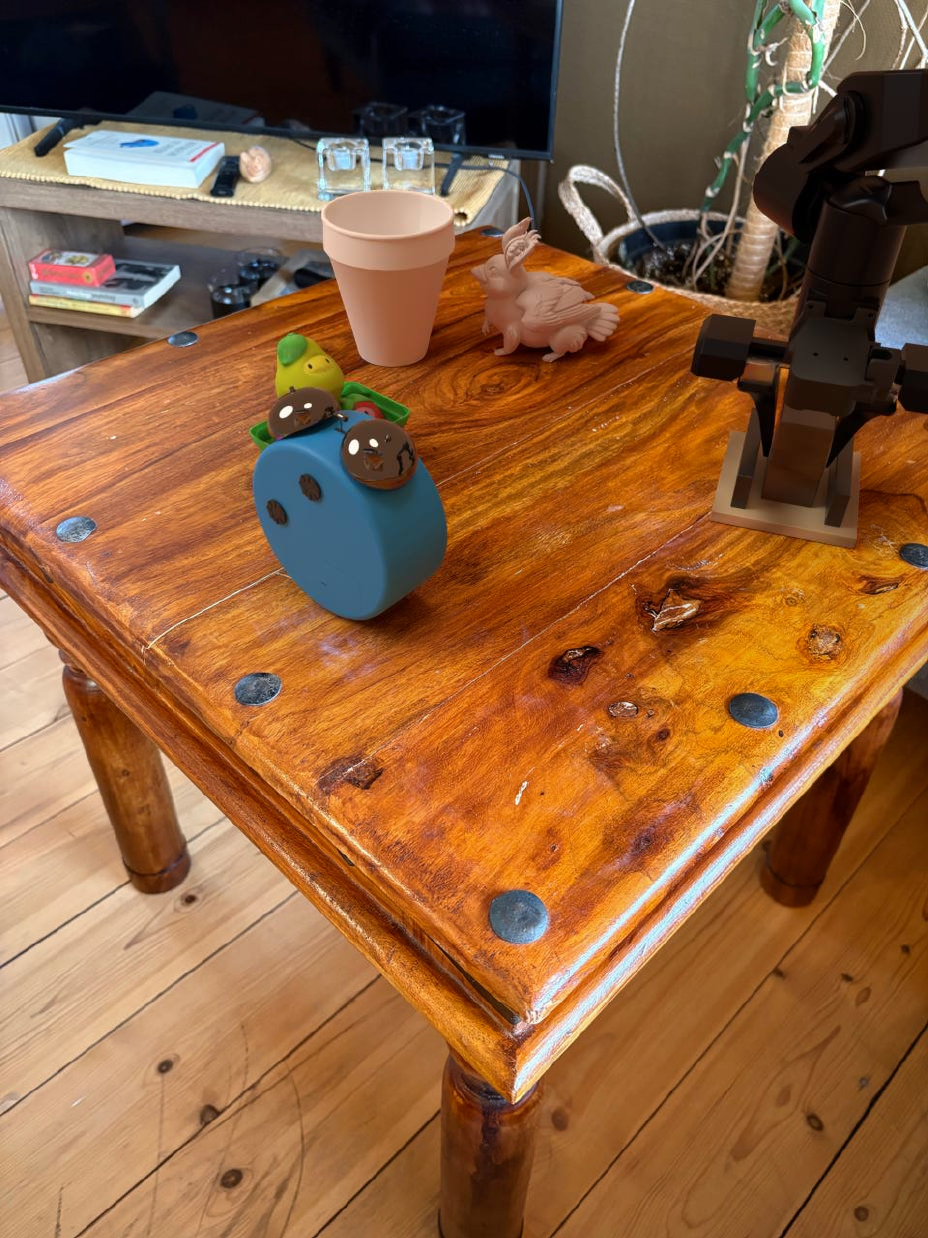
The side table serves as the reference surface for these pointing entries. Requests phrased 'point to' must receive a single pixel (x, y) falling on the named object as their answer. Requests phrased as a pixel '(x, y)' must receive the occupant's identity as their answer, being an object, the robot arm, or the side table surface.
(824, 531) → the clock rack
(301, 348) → the fruit basket
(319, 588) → the alarm clock
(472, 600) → the side table surface
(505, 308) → the figurine
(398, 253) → the cup
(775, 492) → the dark brown block
